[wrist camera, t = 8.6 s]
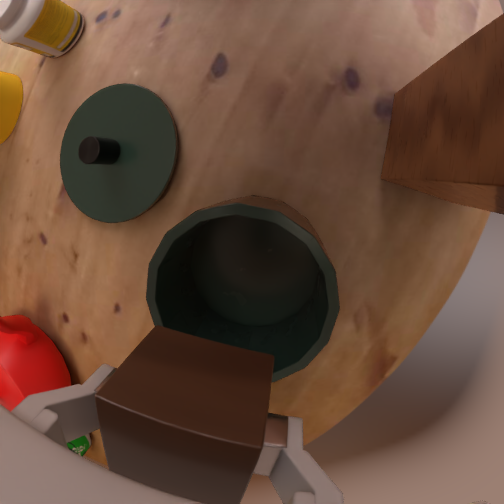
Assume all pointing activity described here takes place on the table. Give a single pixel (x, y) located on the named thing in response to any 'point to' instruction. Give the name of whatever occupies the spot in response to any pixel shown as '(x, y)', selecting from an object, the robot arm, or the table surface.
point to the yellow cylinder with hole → (9, 103)
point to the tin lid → (119, 153)
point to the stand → (453, 125)
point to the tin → (247, 281)
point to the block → (187, 415)
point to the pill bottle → (40, 25)
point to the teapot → (28, 361)
